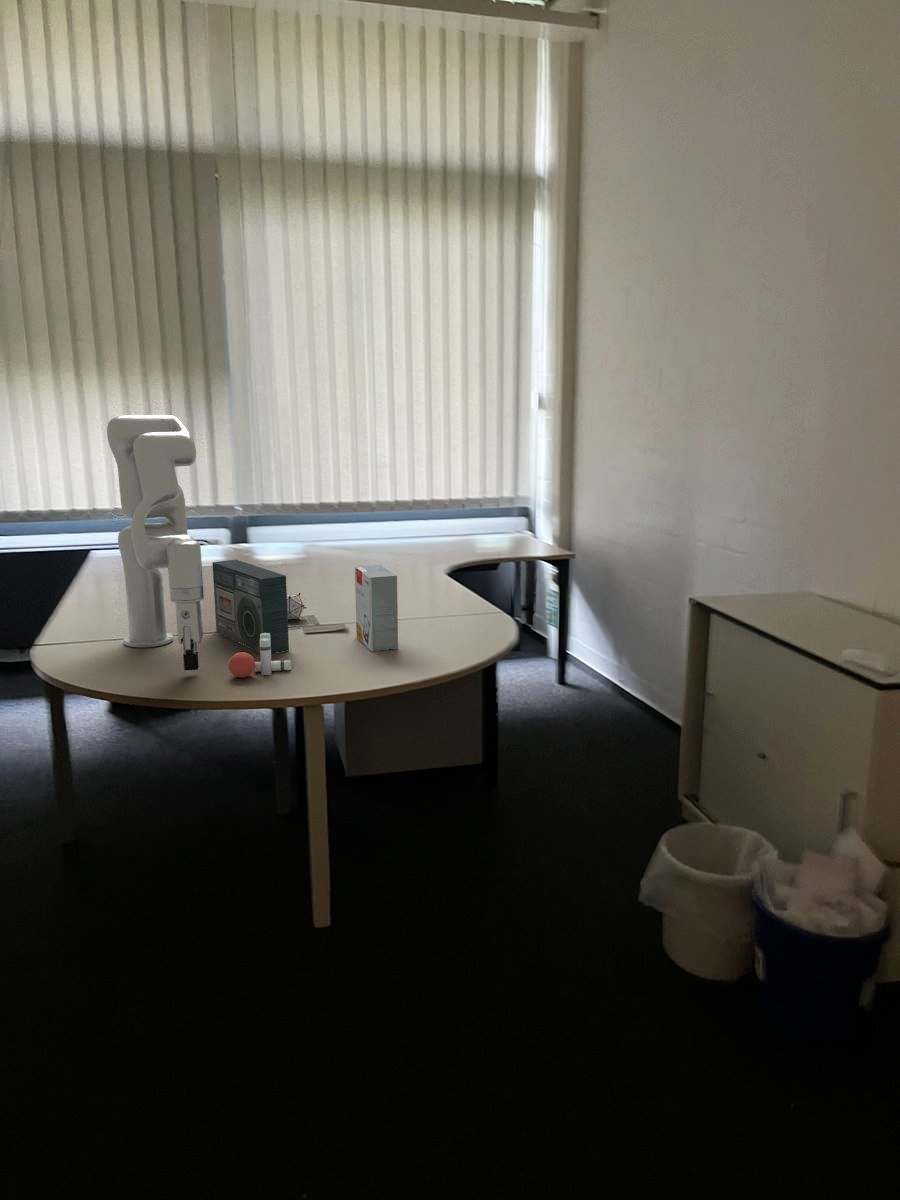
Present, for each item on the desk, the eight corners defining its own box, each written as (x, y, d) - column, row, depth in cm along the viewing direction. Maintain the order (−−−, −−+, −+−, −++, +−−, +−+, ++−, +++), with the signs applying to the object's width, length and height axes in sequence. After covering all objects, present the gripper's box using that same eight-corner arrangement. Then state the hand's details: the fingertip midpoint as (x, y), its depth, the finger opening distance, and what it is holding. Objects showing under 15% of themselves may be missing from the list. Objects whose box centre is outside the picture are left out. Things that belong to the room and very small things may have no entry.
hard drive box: (355, 637, 244) (353, 566, 240) (382, 634, 247) (381, 564, 242) (370, 652, 230) (369, 576, 226) (399, 649, 233) (398, 574, 228)
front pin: (254, 659, 213) (290, 657, 215) (255, 666, 215) (290, 665, 216) (254, 666, 211) (290, 665, 213) (254, 674, 213) (290, 672, 214)
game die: (297, 630, 265) (314, 602, 267) (293, 627, 257) (311, 598, 258) (271, 615, 266) (289, 586, 267) (266, 611, 257) (285, 582, 259)
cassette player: (216, 632, 249) (212, 562, 245) (239, 628, 253) (235, 559, 249) (264, 655, 227) (261, 579, 223) (289, 651, 231) (286, 575, 227)
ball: (258, 672, 212) (234, 666, 213) (259, 650, 209) (235, 645, 210) (248, 685, 207) (224, 679, 208) (249, 663, 204) (224, 657, 205)
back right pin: (259, 673, 212) (257, 639, 210) (269, 672, 213) (267, 637, 211) (263, 676, 210) (261, 641, 208) (273, 674, 211) (271, 640, 209)
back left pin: (259, 667, 217) (258, 633, 215) (269, 665, 218) (268, 632, 216) (263, 670, 215) (262, 636, 213) (273, 668, 216) (272, 634, 214)
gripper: (200, 599, 200) (205, 677, 204) (205, 586, 214) (210, 659, 218) (166, 601, 198) (171, 679, 203) (173, 587, 213) (178, 661, 217)
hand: (191, 669), depth 210 cm, fingers closed
